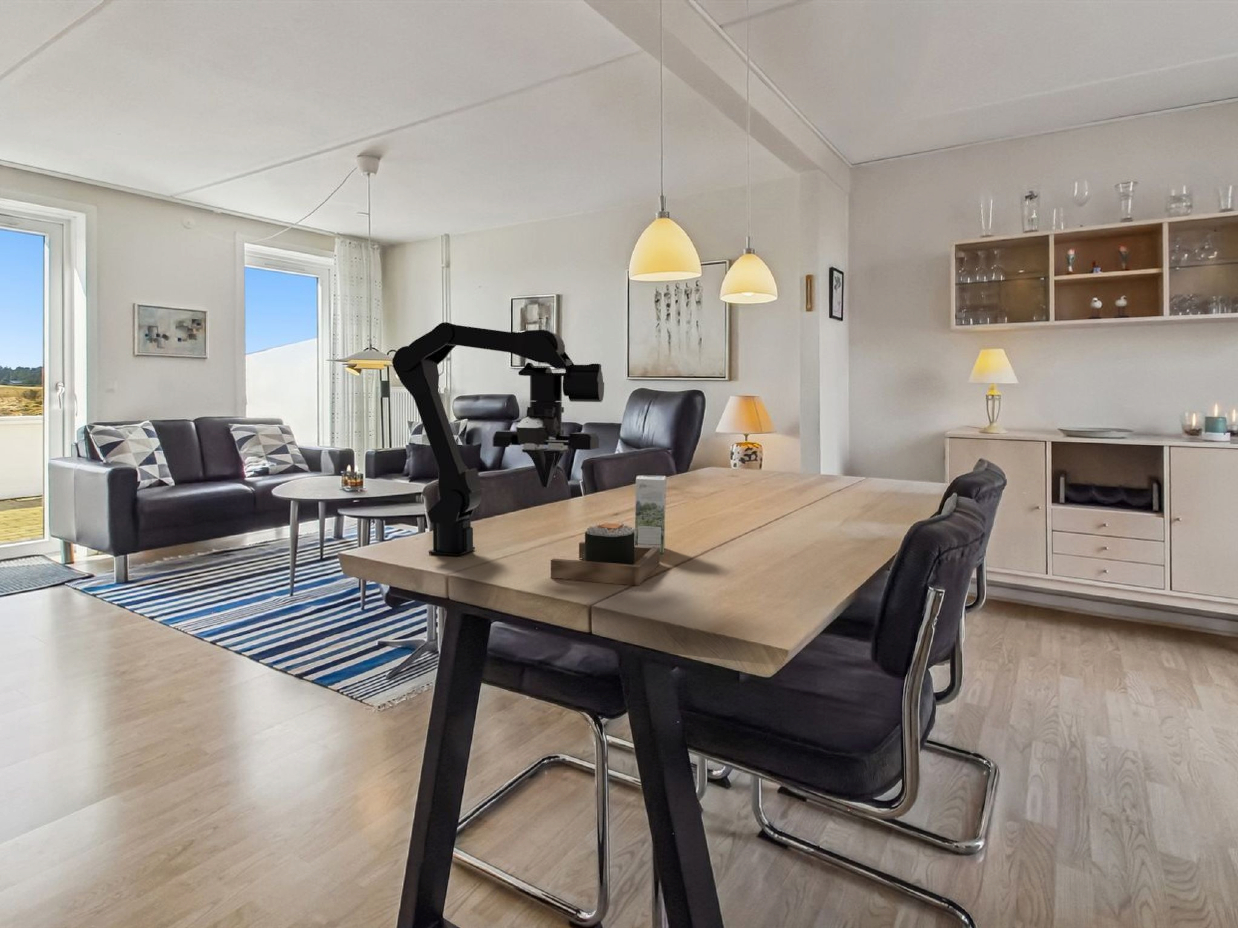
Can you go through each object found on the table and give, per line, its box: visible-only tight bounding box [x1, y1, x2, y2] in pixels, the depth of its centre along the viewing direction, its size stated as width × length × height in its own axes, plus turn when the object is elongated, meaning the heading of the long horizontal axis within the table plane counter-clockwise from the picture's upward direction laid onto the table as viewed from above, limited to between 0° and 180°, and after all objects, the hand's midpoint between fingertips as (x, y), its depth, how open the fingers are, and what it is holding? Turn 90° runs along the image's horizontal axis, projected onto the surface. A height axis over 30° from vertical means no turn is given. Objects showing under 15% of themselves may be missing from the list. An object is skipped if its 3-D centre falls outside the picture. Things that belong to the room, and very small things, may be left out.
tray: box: [550, 541, 661, 587], centre depth 120 cm, size 15×15×3 cm
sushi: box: [584, 522, 635, 565], centre depth 119 cm, size 8×8×8 cm
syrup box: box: [634, 474, 667, 554], centre depth 136 cm, size 6×6×14 cm
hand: (545, 487), depth 128 cm, fingers closed
